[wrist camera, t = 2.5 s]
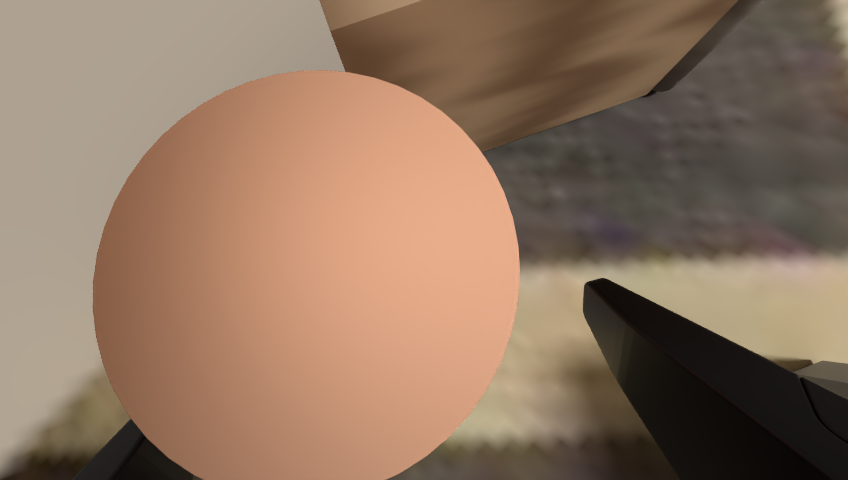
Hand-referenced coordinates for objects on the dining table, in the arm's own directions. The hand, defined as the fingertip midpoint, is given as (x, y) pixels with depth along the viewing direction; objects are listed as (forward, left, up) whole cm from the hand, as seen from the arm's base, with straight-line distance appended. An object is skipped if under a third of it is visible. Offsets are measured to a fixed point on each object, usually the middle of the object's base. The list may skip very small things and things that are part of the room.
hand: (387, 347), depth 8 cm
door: (+8, -9, -8) cm, 14 cm away
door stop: (+1, 0, -9) cm, 9 cm away
